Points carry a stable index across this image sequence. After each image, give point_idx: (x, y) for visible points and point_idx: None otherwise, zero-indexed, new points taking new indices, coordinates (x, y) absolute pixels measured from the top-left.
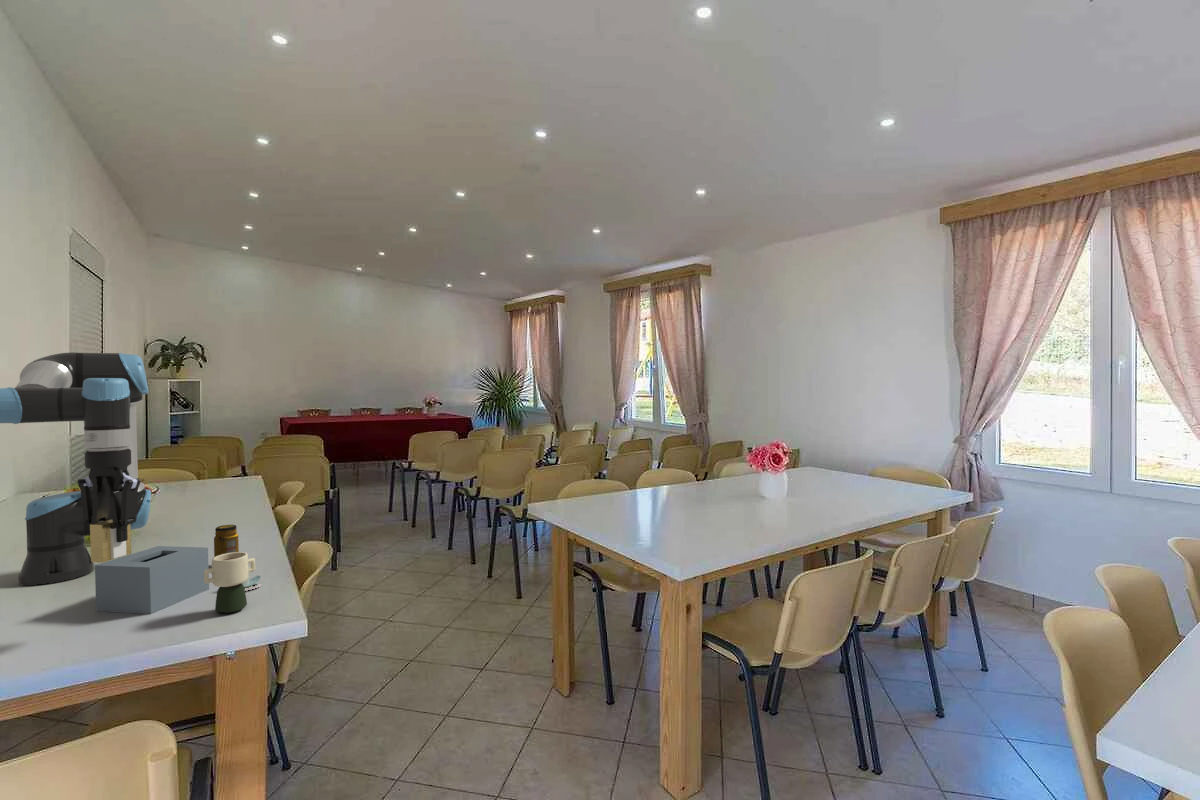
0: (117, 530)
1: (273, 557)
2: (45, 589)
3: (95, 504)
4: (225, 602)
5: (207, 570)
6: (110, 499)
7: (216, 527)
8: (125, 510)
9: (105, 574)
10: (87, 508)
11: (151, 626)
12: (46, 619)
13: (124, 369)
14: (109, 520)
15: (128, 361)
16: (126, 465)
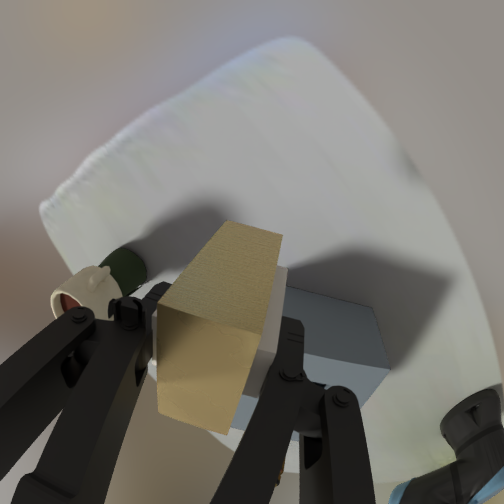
0: (149, 316)
1: (226, 442)
2: (471, 382)
3: (246, 496)
4: (111, 256)
5: (89, 279)
6: (70, 472)
7: (277, 483)
8: (21, 352)
9: (362, 350)
10: (331, 476)
11: (212, 217)
12: (431, 283)
13: None
14: (225, 404)
15: None
16: None
